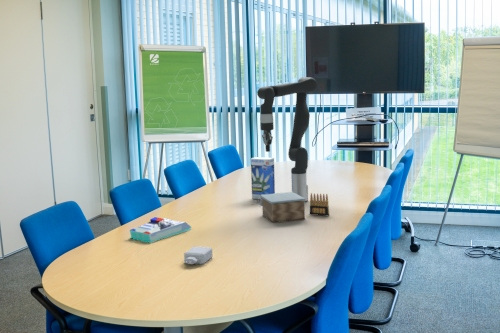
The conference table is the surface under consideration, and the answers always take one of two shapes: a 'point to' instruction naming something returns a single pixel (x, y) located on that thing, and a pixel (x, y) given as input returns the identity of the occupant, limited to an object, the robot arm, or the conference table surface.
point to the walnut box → (283, 211)
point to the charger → (198, 255)
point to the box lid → (281, 197)
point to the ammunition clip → (319, 205)
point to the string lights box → (262, 176)
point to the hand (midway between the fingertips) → (267, 151)
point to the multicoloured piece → (158, 229)
